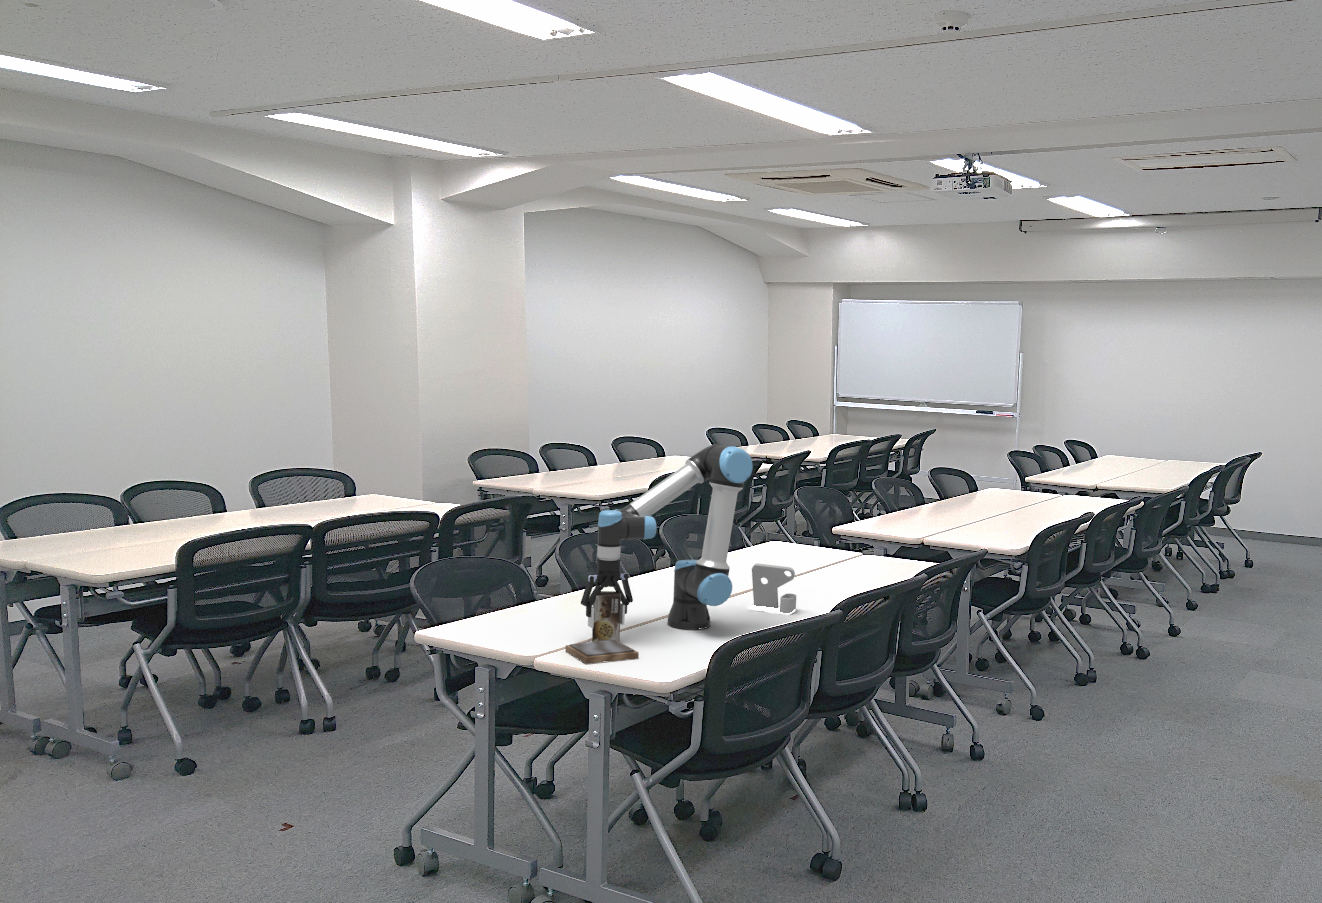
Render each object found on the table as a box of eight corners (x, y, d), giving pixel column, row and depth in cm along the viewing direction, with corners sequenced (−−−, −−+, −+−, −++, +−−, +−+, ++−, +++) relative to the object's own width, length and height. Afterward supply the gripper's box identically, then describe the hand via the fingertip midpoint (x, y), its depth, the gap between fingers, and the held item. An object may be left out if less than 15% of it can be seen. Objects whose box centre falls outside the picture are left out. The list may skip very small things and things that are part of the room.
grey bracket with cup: (798, 610, 410) (800, 564, 409) (790, 616, 401) (793, 568, 400) (754, 605, 417) (756, 559, 415) (746, 610, 408) (748, 563, 406)
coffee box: (619, 639, 356) (621, 591, 355) (619, 644, 350) (621, 595, 349) (591, 638, 356) (593, 590, 355) (591, 643, 350) (593, 594, 348)
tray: (616, 646, 348) (617, 638, 348) (638, 658, 335) (638, 650, 334) (565, 651, 339) (565, 643, 339) (585, 664, 326) (585, 656, 326)
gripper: (634, 554, 359) (632, 619, 361) (571, 558, 348) (569, 625, 350) (645, 558, 353) (642, 625, 355) (581, 562, 342) (578, 631, 344)
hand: (606, 625), depth 352 cm, fingers closed on coffee box, 10 cm apart
